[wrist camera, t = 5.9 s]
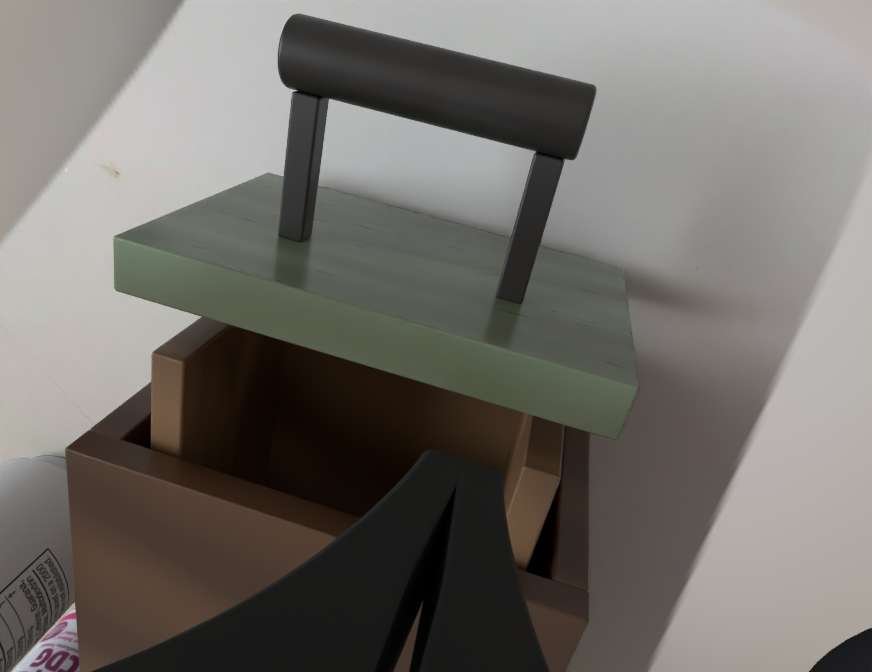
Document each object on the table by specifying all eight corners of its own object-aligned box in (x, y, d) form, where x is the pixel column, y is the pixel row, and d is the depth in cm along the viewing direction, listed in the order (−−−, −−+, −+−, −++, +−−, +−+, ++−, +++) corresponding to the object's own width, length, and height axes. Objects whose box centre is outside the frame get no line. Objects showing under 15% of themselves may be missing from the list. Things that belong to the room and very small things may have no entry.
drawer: (283, -2, 17) (106, -24, 11) (686, 96, 16) (746, 132, 10) (238, 500, 24) (120, 653, 18) (507, 589, 23) (476, 783, 17)
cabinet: (250, 303, 22) (64, 447, 14) (590, 404, 20) (589, 621, 13) (226, 587, 28) (87, 796, 20) (487, 677, 27) (444, 935, 19)
